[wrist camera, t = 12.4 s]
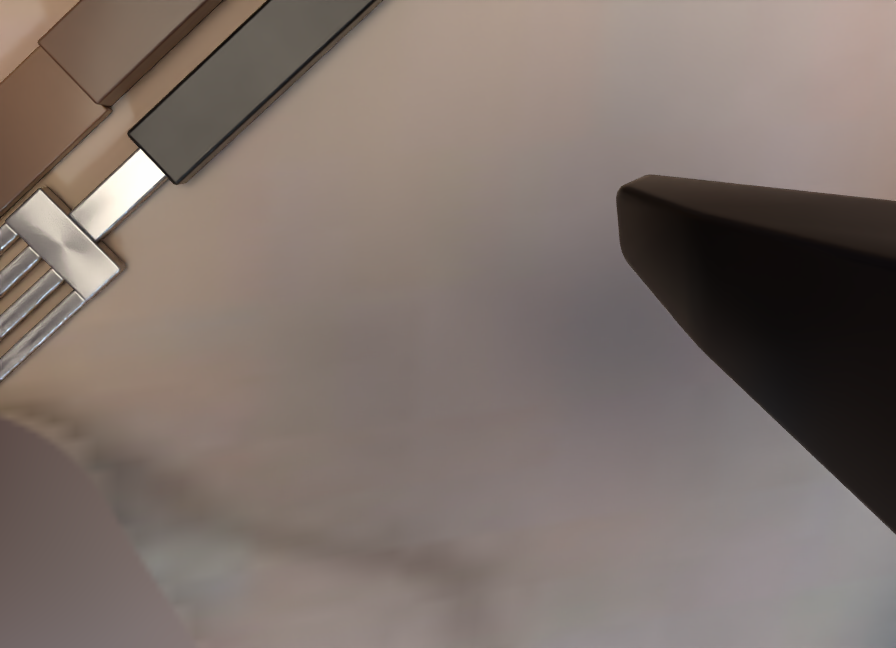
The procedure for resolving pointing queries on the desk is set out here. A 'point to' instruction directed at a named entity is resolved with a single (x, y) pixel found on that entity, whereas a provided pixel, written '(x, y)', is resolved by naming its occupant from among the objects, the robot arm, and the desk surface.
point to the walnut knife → (81, 80)
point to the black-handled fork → (163, 157)
